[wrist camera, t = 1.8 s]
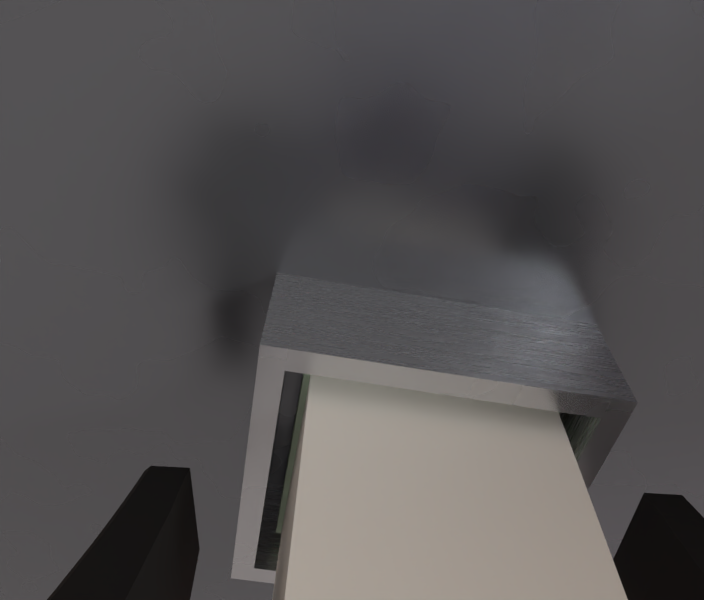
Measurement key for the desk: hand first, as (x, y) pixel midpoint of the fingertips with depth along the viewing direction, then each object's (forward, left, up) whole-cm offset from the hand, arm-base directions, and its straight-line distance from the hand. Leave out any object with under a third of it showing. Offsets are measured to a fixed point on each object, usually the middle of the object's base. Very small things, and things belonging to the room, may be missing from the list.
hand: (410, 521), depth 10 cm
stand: (0, 0, -3) cm, 3 cm away
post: (0, 0, -3) cm, 3 cm away
